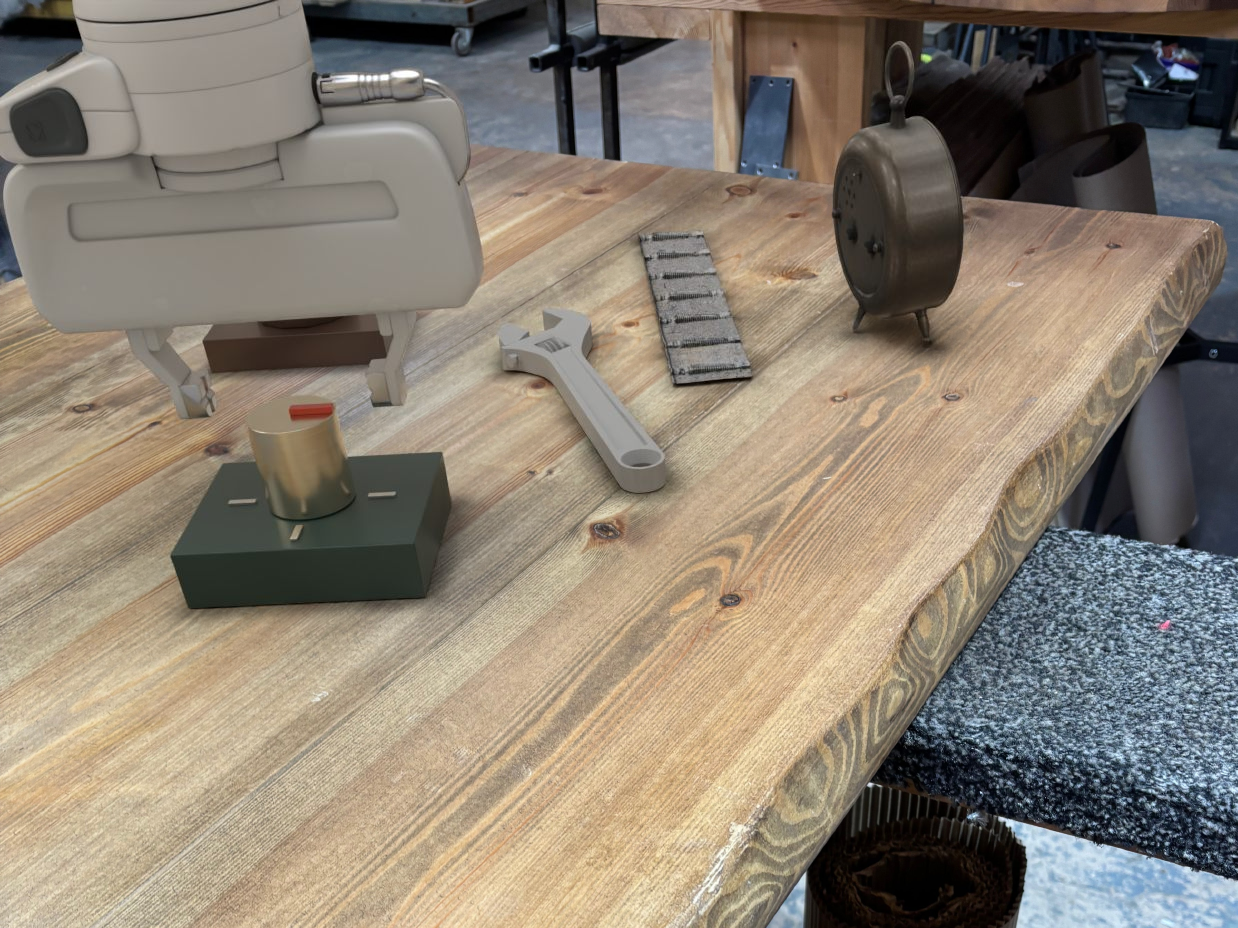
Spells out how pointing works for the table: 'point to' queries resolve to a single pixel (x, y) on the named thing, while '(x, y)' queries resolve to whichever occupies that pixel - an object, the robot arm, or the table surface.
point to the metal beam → (692, 309)
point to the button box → (295, 343)
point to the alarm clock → (898, 214)
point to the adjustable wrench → (586, 395)
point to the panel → (316, 538)
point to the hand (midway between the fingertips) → (294, 408)
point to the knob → (301, 456)
